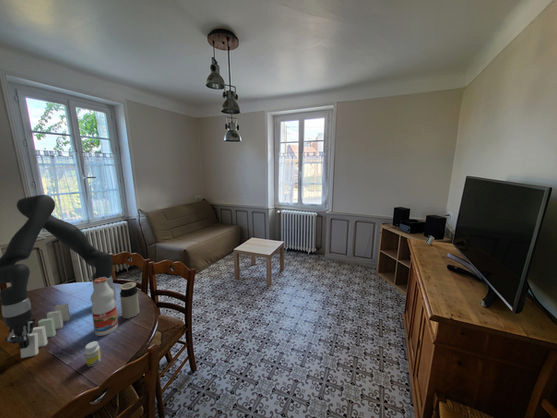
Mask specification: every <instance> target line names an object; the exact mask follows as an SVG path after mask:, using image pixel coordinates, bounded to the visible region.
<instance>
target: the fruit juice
mask: <svg viewBox="0 0 557 418" xmlns="http://www.w3.org/2000/svg"><path fill="white" fill-rule="evenodd" d="M94 284H95V288H94V289H93V291H92V293H91V295H90V301H91V303H92V305H91V312H92V313H91V315H92V321H93V330H94V334H95V335H96V336H99V337H101V336H107V335H109V334H111V333H113V332H114V331H115V330H117V329H118V326H119V320H118V313H117V304H116V303H117V302H116V301H115V300H114V298H113V297H114V291H113V290H112V289H111V288H110V287H109V285H108V284H107V278H106V277H101V278H97V279H95V280H94Z"/></svg>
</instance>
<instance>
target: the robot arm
mask: <svg viewBox="0 0 557 418" xmlns="http://www.w3.org/2000/svg"><path fill="white" fill-rule="evenodd" d="M55 207H56V202H55V200H54V198H53V197H51V196H49V195H48V194H37V195H32V196H27V197H23V198H21V199H19V200H17V203H16V208H17V210H18V211H19V213H20V214H22V215H23V216H24V217H26V218H27V220H26V221H25V223H24V224H23V225H22V226H21V227H20V228H19V230H17V231H16V233H15V234H14V235H13V236H12V237H11V239H10V240H9V242H8V245H7V247H6V250H5V252H4V253H3V255H2V256H0V284H9V283H10V284H12V285H11V286H7V287H4V288H3V289H1V290H0V304H1V314H2V318H3V321H4V322H3V323H4V325H5V327H8V328H9V329H8V332H9V335H8V336H7V337H5V338H4V342H6V343H11V344H13V345H15V344H18V346H19V349H20V350H21V349H24V348H27V347H28V346H29V339H28V337H29V336H30V335H29V334H30V333H32V331H33V328H34V327H35V325H36V324H35V323H36V318H34V317H33V316H34V314H33V309H32V304H31V301H30V297H29V295H28V289H27V287H28V283H29V277H30V274H31V273H30V272H31V271H30V268H29V266H27V265H26V264H23V263H18V262H20V261H24V260H27V259H29V257H30V256H31V254H32V251H33V248H34V246H35V243H36V242H37V239H38V236H39V235H40V233H41V231H42V229H44V230H45V231H46V232H48V233H49V234H51V235H52V236H53V237H55V238H56V240H58V241H59V242H60V243H61V244H62V245H64V246H66V247H67V248H69V249H70V250H71V251H73V252H74V253H76V254H77V255H78V256H79V257H81V258H82V260H84V262H85V263H86V264H87V265H88V266H89V267H93V268H94V269H95V271H94V273H93V274H92V276H91V280H92V288H93V290H94V288H95V284H94V280H95V279H97V278H101V277H106V278H107V284H108V285H109V287H110V288H111V289H112V290H113V291H114V297H113V298H114V300H116V301H117V293H116V286H115V285H114V281H113V273H114V272H113V271H114V263H113V262H114V261H113V257H112V255H111V254H110V253H108V252H105V251H100V250H98V249H97V248H96V247H94V245H92V244H91V243H90V242H89V239H88V237H87V235H86V234H85V233H84V232H83V231H82V230H81V229H80V228H79V227H78V226H76V225H74V224H72V223H69V222H67V221H65V220H62V219H60V218H57V217H56V216H53V213H54V211H55ZM16 263H17V264H16Z"/></svg>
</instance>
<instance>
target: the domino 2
mask: <svg viewBox="0 0 557 418" xmlns="http://www.w3.org/2000/svg"><path fill="white" fill-rule="evenodd" d="M37 323H38V327H41V326H45V330H46V336H47V338H52V337H55V335H57V332H56V329H55V325H54V319H53V318H47V317H46V318H42V319H40V320H38V322H37Z"/></svg>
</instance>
